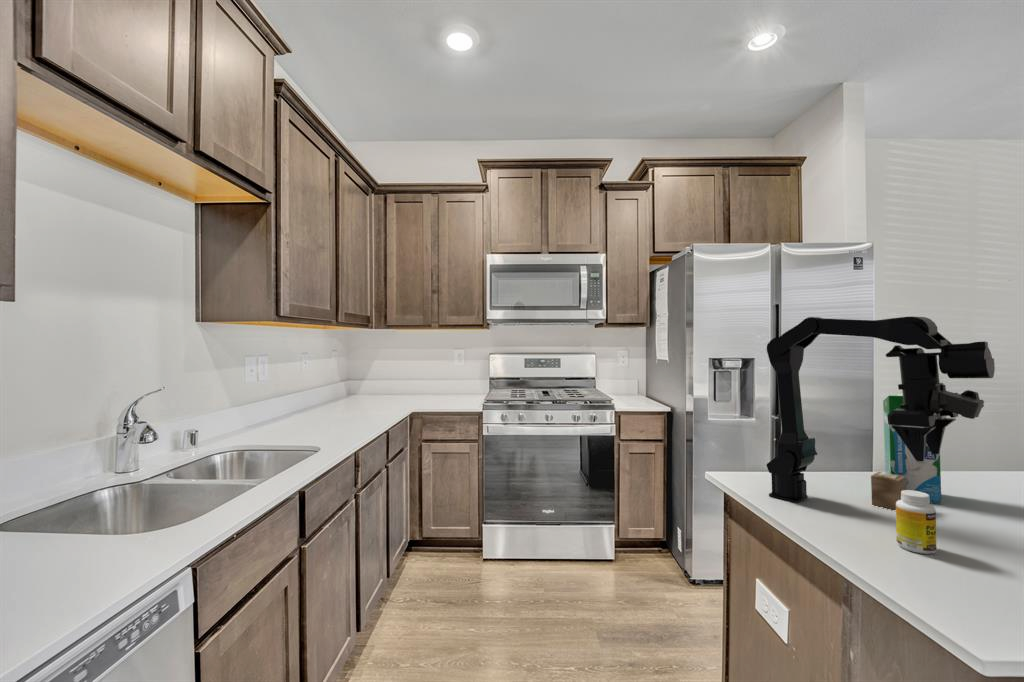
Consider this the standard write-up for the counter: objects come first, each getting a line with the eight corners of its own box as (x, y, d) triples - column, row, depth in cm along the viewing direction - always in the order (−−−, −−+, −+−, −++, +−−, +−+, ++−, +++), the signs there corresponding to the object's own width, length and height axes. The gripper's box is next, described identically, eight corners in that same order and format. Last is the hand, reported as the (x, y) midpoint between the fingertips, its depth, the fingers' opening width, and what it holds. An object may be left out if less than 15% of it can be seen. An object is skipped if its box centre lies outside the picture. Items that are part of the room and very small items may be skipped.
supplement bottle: (931, 558, 80) (929, 500, 80) (892, 546, 85) (890, 492, 85) (941, 549, 83) (939, 494, 83) (902, 539, 88) (901, 486, 88)
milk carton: (932, 492, 113) (929, 392, 113) (941, 504, 105) (938, 396, 106) (885, 487, 118) (882, 391, 118) (891, 497, 110) (888, 395, 110)
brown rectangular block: (871, 505, 106) (870, 474, 106) (879, 501, 109) (878, 470, 109) (899, 512, 102) (898, 479, 102) (906, 506, 104) (905, 475, 104)
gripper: (961, 381, 79) (970, 472, 78) (989, 375, 89) (998, 455, 89) (882, 381, 89) (890, 462, 88) (916, 376, 99) (923, 448, 98)
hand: (927, 457), depth 90 cm, fingers open, 9 cm apart
